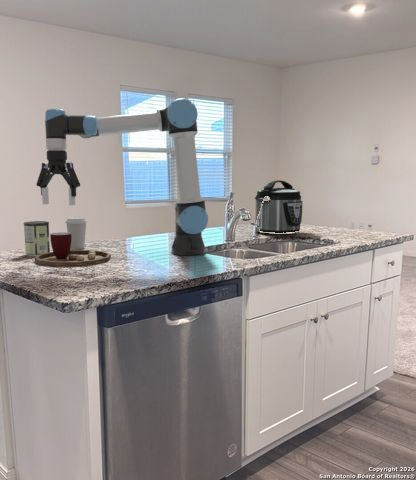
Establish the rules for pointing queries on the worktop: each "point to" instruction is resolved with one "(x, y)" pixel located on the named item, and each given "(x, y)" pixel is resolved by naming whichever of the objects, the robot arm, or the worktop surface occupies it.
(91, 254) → the bead
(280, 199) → the pressure cooker
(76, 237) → the coffee cup
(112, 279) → the worktop surface
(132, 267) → the worktop surface
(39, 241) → the coffee can
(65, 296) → the worktop surface
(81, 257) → the bead
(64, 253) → the mug
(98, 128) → the robot arm
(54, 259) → the ring tray
